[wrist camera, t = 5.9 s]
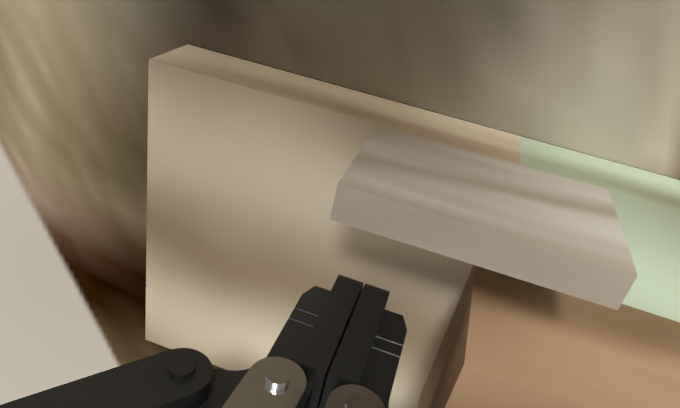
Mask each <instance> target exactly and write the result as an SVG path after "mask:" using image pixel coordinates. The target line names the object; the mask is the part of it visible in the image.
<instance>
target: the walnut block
mask: <svg viewBox="0 0 680 408" xmlns="http://www.w3.org/2000/svg"><path fill="white" fill-rule="evenodd" d="M418 408H680V322H677V321H674V320H671V319H668V318H665V317H661V316H658V315H655V314H652V313H649V312H646V311H643V310H640V309H637V308H634V307H631V306H627V305H624V304H621V305H620V307H619V309H618V310H615V309H612V308H609V307H606V306H602V305H599V304H596V303H593V302H590V301H587V300H583V299H580V298H577V297H574V296H571V295H568V294H564V293H561V292H558V291H555V290H552V289H549V288H545V287H542V286H539V285H536V284H533V283H530V282H526V281H523V280H520V279H517V278H514V277H510V276H507V275H504V274H501V273H498V272H495V271H491V270H488V269H485V268H482V267H479V266H476V265H473V267H472V269H471V272H470V274H469V277H468V279H467V282H466V284H465V287H464V289H463V292H462V294H461V297H460V299H459V302H458V304H457V307H456V309H455V312H454V314H453V317H452V319H451V322H450V324H449V327H448V329H447V332H446V334H445V337H444V339H443V342H442V344H441V346H440V349H439V351H438V354H437V356H436V359H435V361H434V364H433V366H432V369H431V371H430V374H429V376H428V379H427V381H426V384H425V386H424V389H423V391H422V394H421V396H420V399H419V404H418Z"/></svg>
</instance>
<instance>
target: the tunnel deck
mask: <svg viewBox="0 0 680 408" xmlns="http://www.w3.org/2000/svg"><path fill="white" fill-rule="evenodd" d="M473 265H476V266H479V267H482V268H485V269H488V270H491V271H495V272H498V273H501V274H504V275H507V276H510V277H514V278H517V279H520V280H523V281H526V282H530V283H533V284H536V285H539V286H542V287H545V288H549V289H552V290H555V291H558V292H561V293H564V294H568V295H571V296H574V297H577V298H580V299H583V300H587V301H590V302H593V303H596V304H599V305H602V306H606V307H609V308H612V309H615V310H618V309H619V307H620V305H621V304H624V305H627V306H631V307H634V308H637V309H640V310H643V311H646V312H649V313H652V314H655V315H658V316H661V317H665V318H668V319H671V320H674V321H677V322H680V180H677V179H673V178H670V177H666V176H662V175H659V174H655V173H652V172H648V171H644V170H641V169H637V168H633V167H630V166H626V165H623V164H619V163H615V162H612V161H608V160H605V159H601V158H597V157H594V156H590V155H586V154H583V153H579V152H576V151H572V150H568V149H565V148H561V147H558V146H554V145H550V144H547V143H543V142H539V141H536V140H532V139H529V138H525V137H521V136H518V135H514V134H510V133H507V132H503V131H500V130H496V129H492V128H489V127H485V126H482V125H478V124H474V123H471V122H467V121H463V120H460V119H456V118H453V117H449V116H445V115H442V114H438V113H435V112H431V111H427V110H424V109H420V108H416V107H413V106H409V105H406V104H402V103H398V102H395V101H391V100H387V99H384V98H380V97H377V96H373V95H369V94H366V93H362V92H359V91H355V90H351V89H348V88H344V87H340V86H337V85H333V84H330V83H326V82H322V81H319V80H315V79H312V78H308V77H304V76H301V75H297V74H293V73H290V72H286V71H283V70H279V69H275V68H272V67H268V66H264V65H261V64H257V63H254V62H250V61H246V60H243V59H239V58H236V57H232V56H228V55H225V54H221V53H217V52H214V51H210V50H207V49H203V48H199V47H196V46H192V45H189V44H187V45H185V46H182V47H180V48H177V49H174V50H172V51H169V52H167V53H164V54H161V55H159V56H156V57H154V58H151V59H149V68H148V155H147V242H146V330H145V340H148V341H151V342H153V343H156V344H159V345H161V346H164V347H167V348H170V349H176V348H190V349H194V350H197V351H200V352H201V353H203V354H204V355H206V356H207V357H208V359H209V360H210V361H211V364H213V365H215V366H218V367H221V368H224V369H226V370H233V371H238V370H245V369H249V368H251V366H252V365H253V364H254V363H256V362H257V361H259V360H261V359H263V358H266V357H267V355H268V353H269V352H270V350H271V348H272V346H273V345H274V343H275V341H276V339H277V338H278V336H279V334H280V332H281V330H282V329H283V327H284V325H285V323H286V322H287V320H288V319H289V316H290V315H291V313H292V311H293V309H294V308H295V306H296V304H297V302H298V300H299V299H300V297H301V295H302V294H303V293H305V292H306V291H308V290H309V289H311V288H312V287H314V286H318V287H321V288H324V289H327V290H330V291H331V289H332V287H333V285H334V283H335V281H336V279H337V277H338V275H342V276H345V277H348V278H351V279H354V280H357V281H360V282H363V283H364V284H363V288H364V285H365V283H366V284H369V285H372V286H375V287H378V288H381V289H384V290H387V291H390V294H389V297H388V301H387V304H386V307H385V310H388V311H391V312H394V313H397V314H400V315H403V317H404V321H405V324H406V328H407V333H406V337H405V341H404V345H403V348H402V352H401V356H400V360H399V364H398V368H397V372H396V375H395V379H394V383H393V387H392V391H391V395H390V398H389V408H418V404H419V399H420V396H421V394H422V391H423V389H424V386H425V384H426V381H427V379H428V376H429V374H430V371H431V369H432V366H433V364H434V361H435V359H436V356H437V354H438V351H439V349H440V346H441V344H442V342H443V339H444V337H445V334H446V332H447V329H448V327H449V324H450V322H451V319H452V317H453V314H454V312H455V309H456V307H457V304H458V302H459V299H460V297H461V294H462V292H463V289H464V287H465V284H466V282H467V279H468V277H469V274H470V272H471V269H472V267H473ZM362 290H363V289H362ZM361 293H362V292H361Z"/></svg>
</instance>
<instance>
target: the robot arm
mask: <svg viewBox="0 0 680 408" xmlns="http://www.w3.org/2000/svg"><path fill="white" fill-rule="evenodd" d="M363 284H364V283H363V282H360V281H357V280H354V279H351V278H348V277H345V276H342V275H338V277H337V279H336V281H335V283H334V285H333V287H332V289H331V291H330V290H327V289H324V288H321V287H318V286H314V287H312V288H311V289H309V290H308V291H306V292H305V293H303V294H302V295H301V297H300V299H299V300H298V302H297V304H296V306H295V308H294V309H293V311H292V313H291V315H290V316H289V319H288V320H287V322H286V323H285V325H284V327H283V329H282V330H281V332H280V334H279V336H278V338H277V339H276V341H275V343H274V345H273V346H272V348H271V350H270V352H269V353H268V355H267V357H266V358H263V359H261V360H259V361H257V362H256V363H254V364H253V365H252V366H251V368H249V369H245V370H238V371H233V370H219V369H213V367H212V364H211V361H210V360H209V359H208V357H207V356H206V355H204V354H203V353H201V352H200V351H197V350H194V349H190V348H176V349H171V350H168V351H165V352H162V353H159V354H156V355H153V356H150V357H147V358H143V359H140V360H137V361H134V362H131V363H128V364H125V365H122V366H119V367H116V368H113V369H110V370H107V371H104V372H100V373H97V374H94V375H91V376H88V377H85V378H82V379H79V380H76V381H73V382H70V383H67V384H64V385H60V386H57V387H54V388H51V389H48V390H45V391H42V392H39V393H36V394H33V395H30V396H27V397H24V398H21V399H18V400H14V401H11V402H8V403H5V404H2V405H0V408H389V398H390V395H391V391H392V387H393V383H394V379H395V375H396V372H397V368H398V364H399V360H400V356H401V352H402V348H403V345H404V341H405V337H406V333H407V328H406V324H405V321H404V317H403V315H400V314H397V313H394V312H391V311H388V310H385V307H386V304H387V301H388V297H389V294H390V291H387V290H384V289H381V288H378V287H375V286H372V285H369V284H366V283H365V285H364V288H363ZM362 289H363V290H362ZM361 292H362V293H361Z"/></svg>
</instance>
